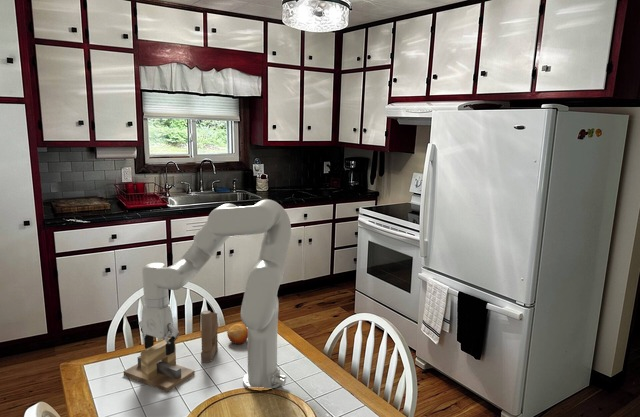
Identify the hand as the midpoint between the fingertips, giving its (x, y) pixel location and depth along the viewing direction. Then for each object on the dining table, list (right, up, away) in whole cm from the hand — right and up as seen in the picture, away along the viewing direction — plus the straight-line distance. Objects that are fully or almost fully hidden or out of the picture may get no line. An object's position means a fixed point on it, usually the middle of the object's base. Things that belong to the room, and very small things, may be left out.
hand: (159, 350), depth 152 cm
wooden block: (+13, -7, +16) cm, 21 cm away
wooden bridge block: (-1, -7, +1) cm, 7 cm away
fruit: (+21, -5, +27) cm, 35 cm away
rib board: (-1, -9, +2) cm, 9 cm away
